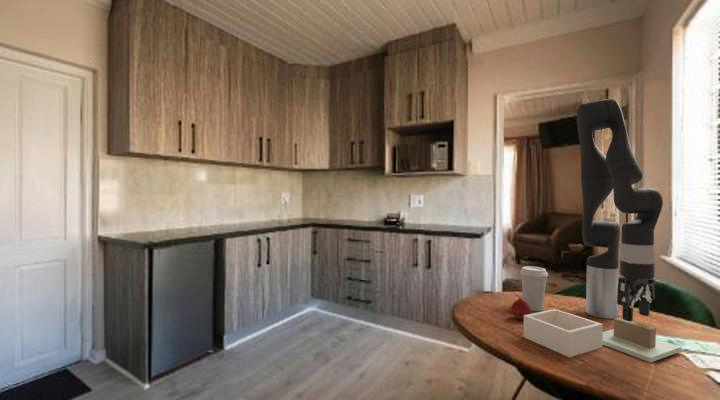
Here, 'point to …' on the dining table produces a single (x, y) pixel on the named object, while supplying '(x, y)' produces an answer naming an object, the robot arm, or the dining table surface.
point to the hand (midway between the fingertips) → (636, 317)
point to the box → (563, 332)
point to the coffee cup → (534, 286)
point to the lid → (638, 341)
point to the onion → (520, 308)
